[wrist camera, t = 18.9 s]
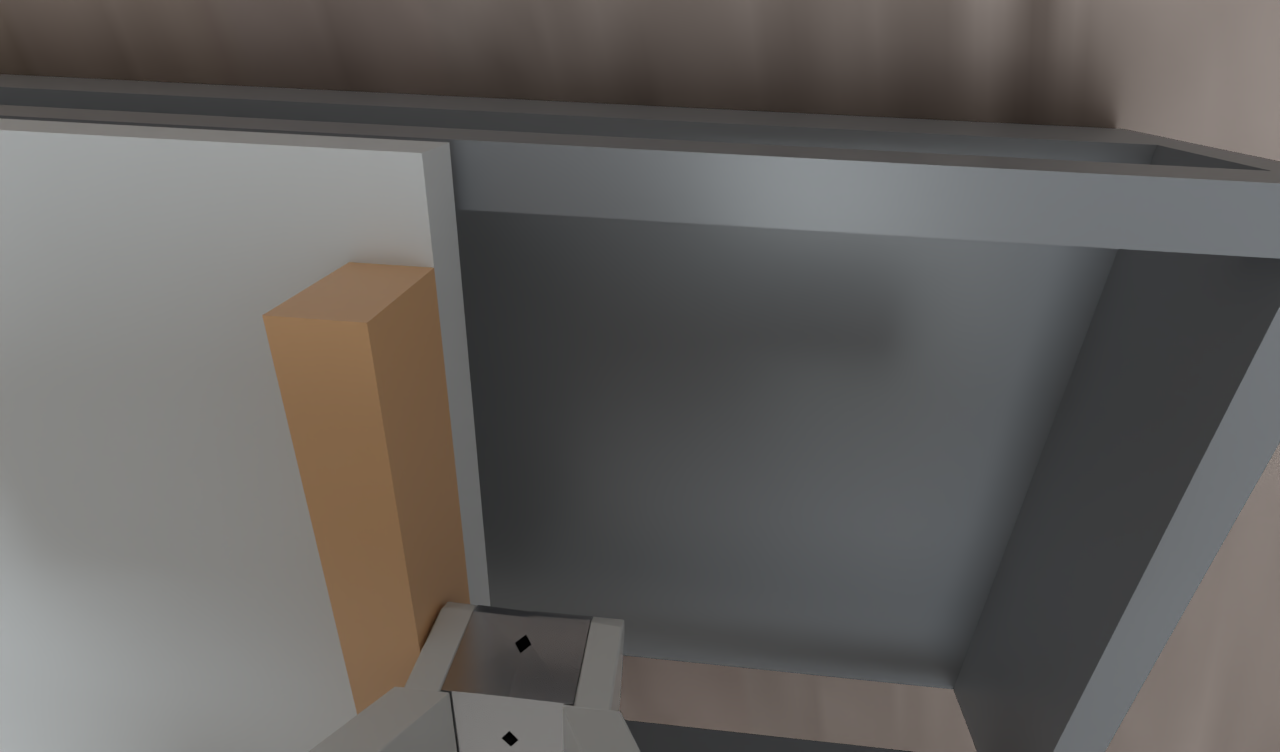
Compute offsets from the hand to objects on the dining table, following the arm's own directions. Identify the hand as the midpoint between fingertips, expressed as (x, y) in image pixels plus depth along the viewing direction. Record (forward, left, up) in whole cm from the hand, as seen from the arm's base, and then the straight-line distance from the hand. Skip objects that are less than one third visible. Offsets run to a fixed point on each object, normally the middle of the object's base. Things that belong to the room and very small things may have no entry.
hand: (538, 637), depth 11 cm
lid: (0, +8, -2) cm, 8 cm away
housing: (0, +3, -9) cm, 10 cm away
